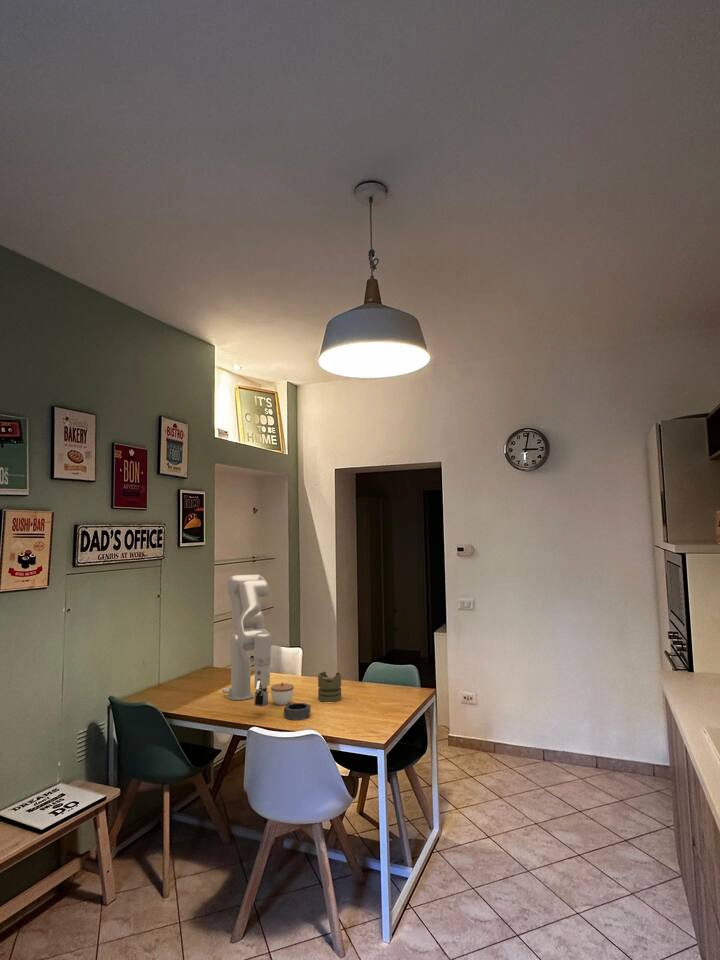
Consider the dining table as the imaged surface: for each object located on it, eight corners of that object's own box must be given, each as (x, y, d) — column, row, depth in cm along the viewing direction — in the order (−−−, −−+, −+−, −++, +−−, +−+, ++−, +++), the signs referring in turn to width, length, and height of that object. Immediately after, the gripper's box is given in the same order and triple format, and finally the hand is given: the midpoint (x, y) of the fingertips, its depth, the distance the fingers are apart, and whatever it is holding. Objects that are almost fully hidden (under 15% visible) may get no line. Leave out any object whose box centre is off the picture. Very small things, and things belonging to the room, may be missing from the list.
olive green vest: (320, 671, 275) (342, 671, 274) (320, 696, 274) (342, 696, 273) (316, 676, 264) (339, 677, 263) (316, 702, 263) (339, 703, 262)
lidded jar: (296, 700, 267) (296, 680, 268) (289, 707, 256) (289, 686, 257) (275, 699, 269) (275, 679, 270) (267, 705, 258) (267, 685, 259)
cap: (252, 706, 243) (253, 694, 243) (256, 701, 249) (256, 689, 249) (266, 706, 242) (266, 694, 243) (269, 702, 248) (269, 690, 249)
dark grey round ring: (282, 719, 238) (282, 710, 238) (287, 711, 249) (287, 702, 249) (307, 720, 237) (307, 710, 237) (311, 712, 248) (311, 703, 248)
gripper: (265, 666, 238) (264, 709, 237) (274, 656, 255) (273, 696, 254) (248, 665, 239) (247, 708, 237) (258, 655, 256) (257, 695, 255)
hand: (261, 701), depth 246 cm, fingers closed on cap, 5 cm apart
